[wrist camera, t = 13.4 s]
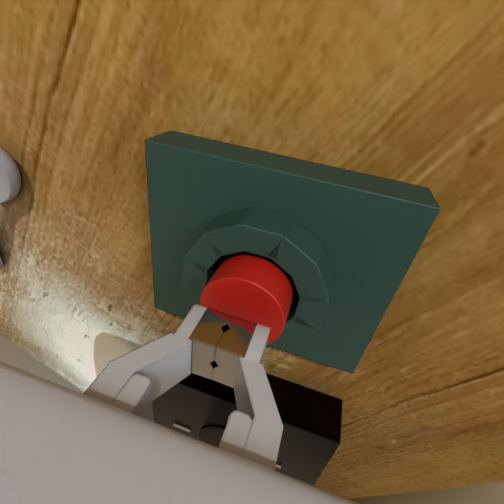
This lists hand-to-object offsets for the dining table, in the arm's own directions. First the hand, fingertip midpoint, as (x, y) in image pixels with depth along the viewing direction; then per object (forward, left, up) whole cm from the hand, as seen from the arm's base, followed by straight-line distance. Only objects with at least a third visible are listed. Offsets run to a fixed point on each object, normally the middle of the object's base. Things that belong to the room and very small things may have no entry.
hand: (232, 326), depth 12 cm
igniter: (0, 0, -6) cm, 6 cm away
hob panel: (0, +16, -6) cm, 17 cm away
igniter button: (0, 0, -3) cm, 3 cm away
